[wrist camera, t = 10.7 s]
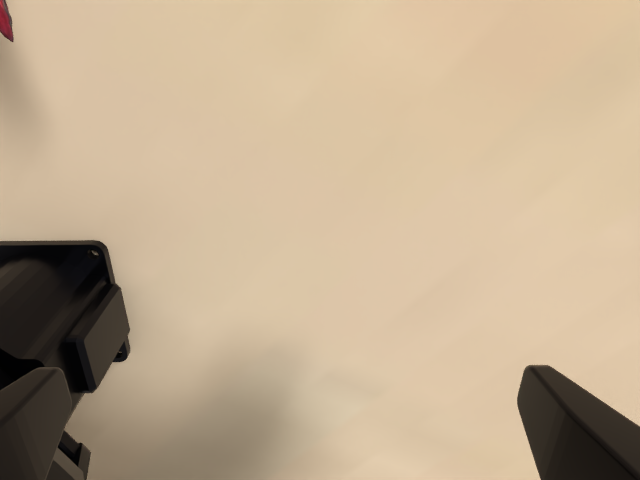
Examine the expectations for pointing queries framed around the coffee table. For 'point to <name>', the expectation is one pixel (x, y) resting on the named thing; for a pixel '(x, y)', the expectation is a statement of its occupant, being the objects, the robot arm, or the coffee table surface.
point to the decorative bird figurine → (5, 21)
